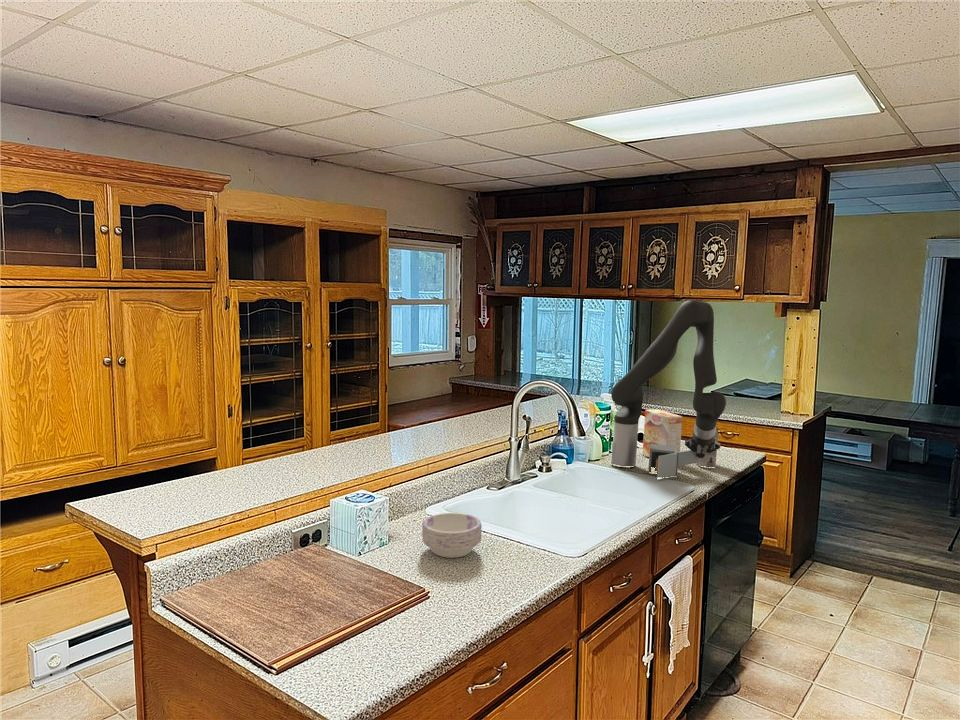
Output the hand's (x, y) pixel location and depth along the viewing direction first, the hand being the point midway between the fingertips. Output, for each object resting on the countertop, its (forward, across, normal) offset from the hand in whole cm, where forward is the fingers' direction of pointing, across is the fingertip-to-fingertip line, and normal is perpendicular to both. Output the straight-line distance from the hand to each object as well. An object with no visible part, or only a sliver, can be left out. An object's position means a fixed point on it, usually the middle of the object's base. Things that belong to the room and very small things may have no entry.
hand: (700, 456), depth 252 cm
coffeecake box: (+17, +14, -7) cm, 23 cm away
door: (0, +9, +10) cm, 14 cm away
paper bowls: (-65, +66, +78) cm, 121 cm away
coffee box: (+15, -3, -6) cm, 17 cm away
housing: (+3, +14, +7) cm, 16 cm away
